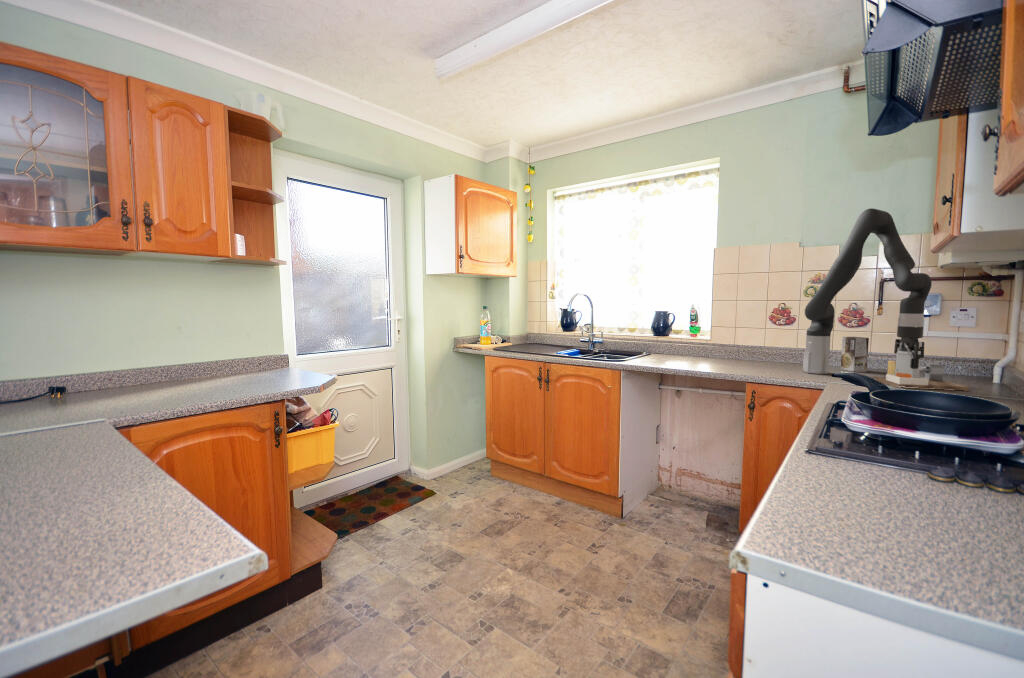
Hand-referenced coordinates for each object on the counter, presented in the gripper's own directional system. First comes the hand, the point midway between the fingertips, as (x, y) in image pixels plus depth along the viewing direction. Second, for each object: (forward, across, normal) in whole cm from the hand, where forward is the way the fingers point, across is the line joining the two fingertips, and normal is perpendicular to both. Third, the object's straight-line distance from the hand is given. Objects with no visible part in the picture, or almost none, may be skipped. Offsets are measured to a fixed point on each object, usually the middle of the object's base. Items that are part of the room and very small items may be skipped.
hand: (907, 367), depth 174 cm
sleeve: (+6, 0, 0) cm, 6 cm away
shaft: (+5, -10, +7) cm, 13 cm away
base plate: (+8, -4, +6) cm, 10 cm away
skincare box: (+6, 0, 0) cm, 6 cm away
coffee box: (+8, -42, 0) cm, 43 cm away
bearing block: (+6, -10, +14) cm, 18 cm away
